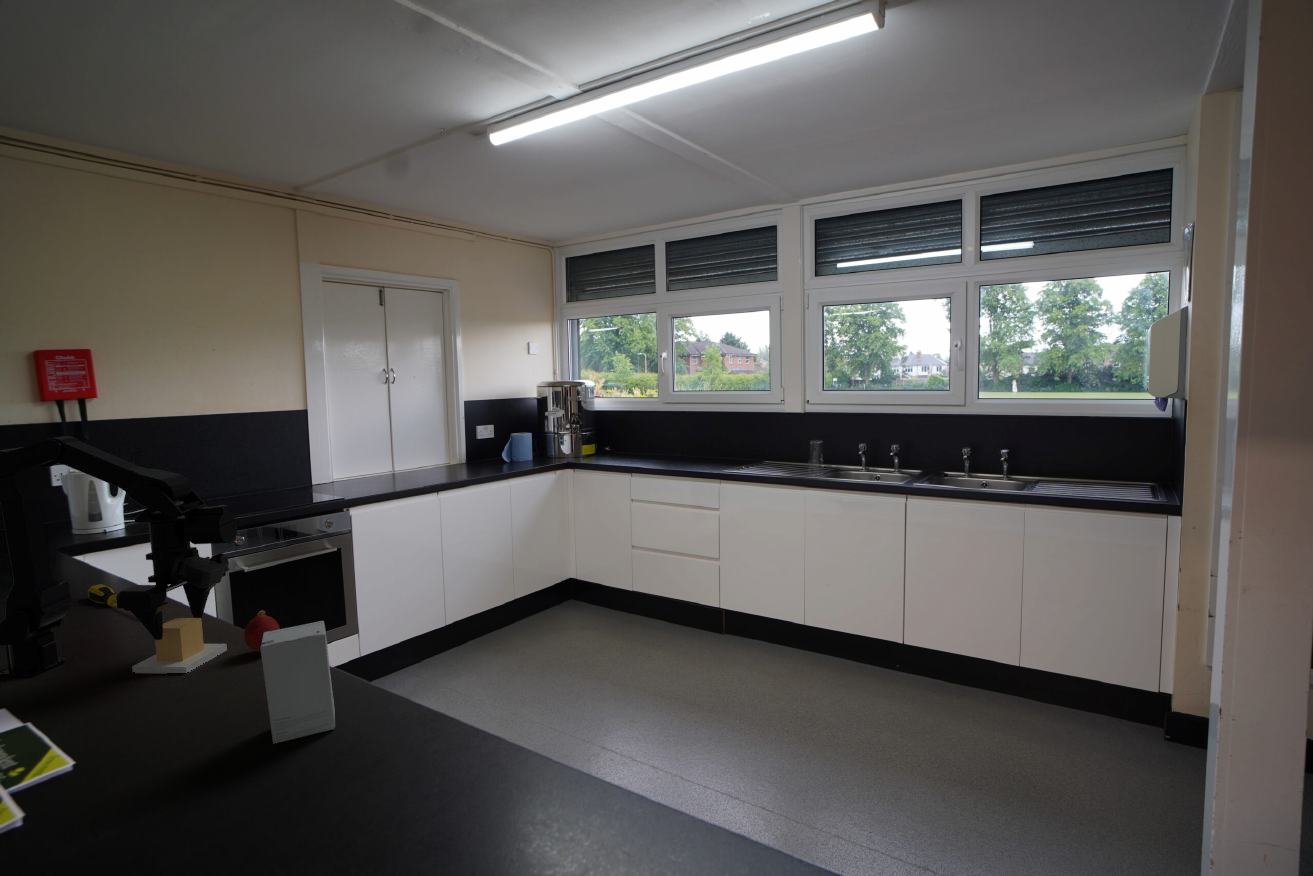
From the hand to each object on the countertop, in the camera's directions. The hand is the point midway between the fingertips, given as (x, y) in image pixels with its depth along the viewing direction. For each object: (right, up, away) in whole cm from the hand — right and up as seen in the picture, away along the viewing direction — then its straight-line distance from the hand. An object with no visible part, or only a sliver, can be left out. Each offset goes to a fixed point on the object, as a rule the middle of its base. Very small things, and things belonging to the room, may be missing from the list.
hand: (179, 629), depth 123 cm
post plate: (0, -6, +1) cm, 6 cm away
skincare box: (+35, -8, -24) cm, 43 cm away
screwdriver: (-35, -4, +30) cm, 46 cm away
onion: (+13, -6, +3) cm, 15 cm away
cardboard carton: (0, -5, 0) cm, 5 cm away
